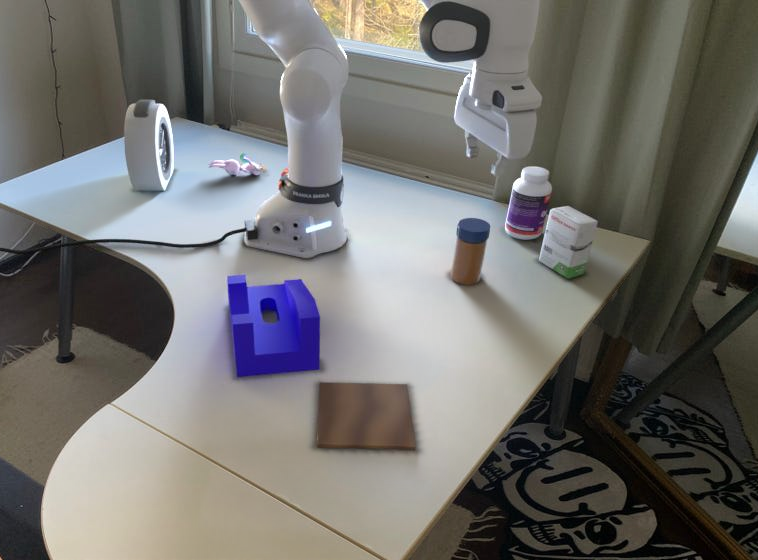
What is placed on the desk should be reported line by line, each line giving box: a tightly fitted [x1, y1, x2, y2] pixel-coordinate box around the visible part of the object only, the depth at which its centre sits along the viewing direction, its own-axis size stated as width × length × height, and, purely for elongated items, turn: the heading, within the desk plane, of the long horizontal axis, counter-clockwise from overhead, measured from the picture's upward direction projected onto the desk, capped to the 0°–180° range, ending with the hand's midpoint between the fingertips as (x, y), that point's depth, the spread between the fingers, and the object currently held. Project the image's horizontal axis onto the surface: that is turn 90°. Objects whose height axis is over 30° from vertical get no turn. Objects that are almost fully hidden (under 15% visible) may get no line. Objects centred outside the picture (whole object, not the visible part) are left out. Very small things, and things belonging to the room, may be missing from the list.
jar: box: [450, 236, 488, 285], centre depth 130 cm, size 6×6×11 cm
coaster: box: [316, 381, 416, 451], centre depth 101 cm, size 14×14×1 cm
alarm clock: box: [123, 99, 175, 192], centre depth 167 cm, size 21×8×20 cm, turn 179°
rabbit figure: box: [207, 153, 267, 176], centre depth 174 cm, size 6×6×15 cm
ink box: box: [538, 205, 599, 280], centre depth 133 cm, size 9×5×12 cm, turn 26°
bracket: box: [226, 274, 321, 378], centre depth 114 cm, size 21×14×10 cm, turn 9°
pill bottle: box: [504, 166, 553, 241], centre depth 144 cm, size 8×8×14 cm
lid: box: [455, 217, 491, 243], centre depth 127 cm, size 6×6×2 cm
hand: (484, 165), depth 119 cm, fingers open, 8 cm apart
